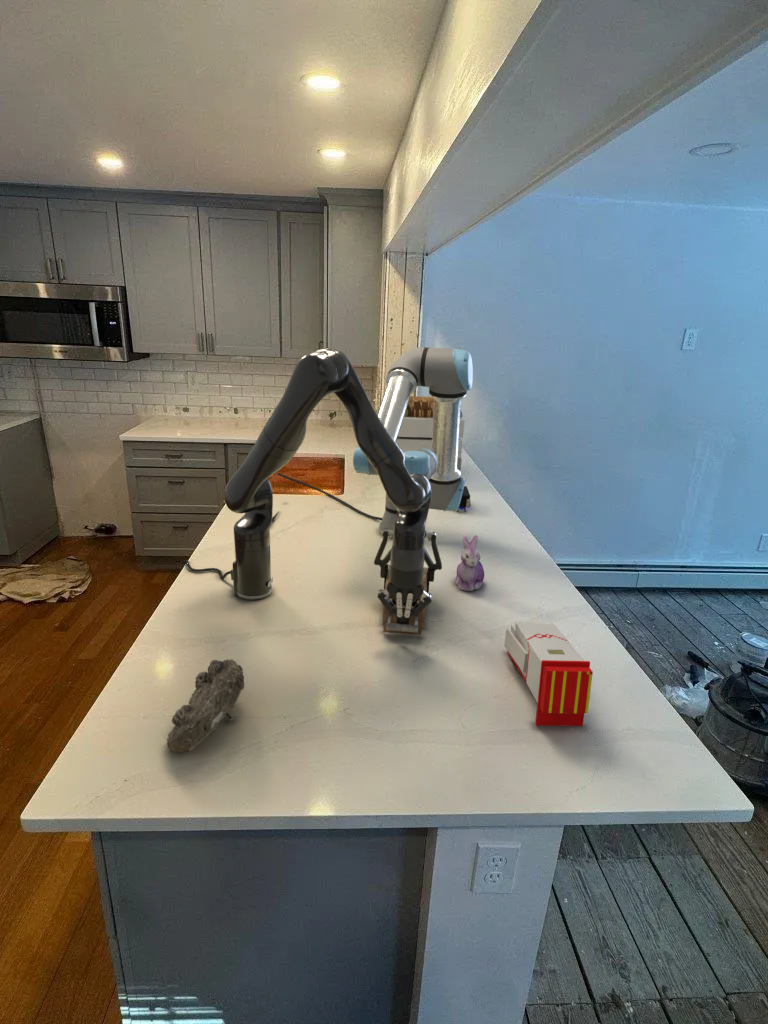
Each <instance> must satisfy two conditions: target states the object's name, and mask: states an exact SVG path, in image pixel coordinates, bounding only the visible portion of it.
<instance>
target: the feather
mask: <svg viewBox="0 0 768 1024" xmlns="http://www.w3.org/2000/svg"><path fill="white" fill-rule="evenodd" d="M278 514H279V512H277V513H276V514H275V515H274V516H272V524H273V523H274V521H275V520H276V518H277V516H278Z"/></svg>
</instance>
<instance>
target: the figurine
mask: <svg viewBox="0 0 768 1024" xmlns="http://www.w3.org/2000/svg"><path fill="white" fill-rule="evenodd" d="M478 541H479V536H478V534H475V535H474V536H473V537H472V539H471V541H470V540H469V539H468V537H467V536H465V535H463V536H462V548H463V550H462V551H461V554H460V560H461V562H460V563H459V564H457V566H456V577H455V584H456V586H457V587H458V589H459V590H461V591H465V592H472V591H475V590H478V589H480V588H481V587H482V586H483V583H484V579H485V570H484V566H483V564H482V563H481V561H480V560H481V555H480V552H479V549H478Z"/></svg>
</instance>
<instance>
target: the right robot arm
mask: <svg viewBox="0 0 768 1024" xmlns="http://www.w3.org/2000/svg"><path fill="white" fill-rule="evenodd" d="M473 368H474V367H473V359H472V355H471V353H470V352H469V351H468V350H465V349H457V348H449V347H447V348H446V347H445V348H444V347H427V346H418V347H414V348H411V349H409V350H407V351H405V352H404V353H403V354H401V355H400V356H399V357H398V358H396V359H395V361H394V362H393V363H392V364H391V366H390V368H389V369H388V372H387V374H386V377H385V384H386V387H385V390H384V392H383V396H382V400H381V401H380V405H379V407H378V410H377V412H376V413H377V415H378V417H379V418H380V420H381V422H382V423H383V425H384V426H385V428H386V429H387V431H388V432H389V433H390V435H391V436H392V438H393V439H394V440H395V442H396V440H397V437H398V434H399V431H400V427H401V424H402V421H403V418H404V415H405V411H406V408H407V405H408V402H409V399H410V396H411V395H412V394H413V393H414V392H415V391H416V390H417V387H426V388H428V395H429V396H430V397H433V399H434V404H433V428H432V451H430V450H428V449H420V450H417V451H408V450H402V452H403V454H404V456H405V463H404V464H405V467H406V469H407V471H408V472H409V474H414V473H418V474H421V475H423V476H425V477H426V478H427V479H428V481H429V483H430V485H431V501H430V506H429V510H436V511H443V512H456V511H457V509H458V508H459V505H460V501H461V497H462V493H463V489H464V486H466V485H465V484H466V479H465V478H464V477H462V473H461V472H462V471H461V472H460V471H459V470H458V469H457V457H458V441H459V426H460V410H461V411H462V401H463V399H465V397H466V396H467V393H468V391H471V390H472V388H473V381H474V380H473V378H474V369H473ZM352 465H353V469H354V471H355V472H356V473H360V474H364V475H368V476H372V475H373V476H379V475H378V473H377V471H376V470H375V469H374V468H373V466H372V465H371V464H370V462H369V461H368V459H367V458H366V457H365V455H364V454H363V452H362V451H361V449H360V447H359V445H358V446H357V447H355V449H354V452H353V456H352ZM277 476H280V477H282V478H285V479H287V480H290V481H292V482H295V483H297V484H300V485H302V486H306V487H308V488H310V489H313V490H315V491H317V492H320V493H322V494H323V495H326V496H328V497H330V498H332V499H334V500H335V501H337V502H339V503H341V504H342V505H345V506H347V507H348V508H350V509H351V510H352V511H354V512H356V513H358V514H360V515H362V516H364V517H366V518H369V519H372V520H377V521H381V522H379V525H378V533H379V534H380V535H381V536H382V540H381V543H380V545H379V547H378V550H377V553H376V555H375V557H374V560H373V565H375V566H379V568H380V573H379V575H380V579H384V580H383V589H385V585H386V579H387V574H388V568H389V565H390V556H391V549H392V547H390V549H389V551H388V552H387V553H386V554H385V556H384V557H383V558H382V556H383V553H384V551H385V548H386V547H387V545H388V540H393V528H394V523H395V521H396V519H397V517H398V515H399V510H398V509H397V508H396V507H395V506H394V505H393V504H392V502H391V501H390V499H389V498H388V496H387V494H386V493H385V504H384V505H385V507H384V508H385V509H384V513H383V515H382V517H380V516H375V515H371V514H369V513H366V512H364V511H363V510H362V511H361V510H360V509H358V508H356V507H354V506H353V505H351V504H349V503H348V502H346V501H344V500H342V499H341V498H339V497H337V496H335V495H333V494H331V493H329V492H327V491H325V490H322V489H320V488H318V487H316V486H313V485H311V484H309V483H306V482H303V481H301V480H299V479H295V478H293V477H290V476H287V475H285V474H282V473H281V472H278V473H277ZM426 538H427V540H428V542H429V543H430V545H431V550H432V554H433V557H434V561H435V563H434V562H433V559H432V558H431V556H430V554H429V552H428V551H427V548H426V547H425V546H424V563H426V565H427V566H426V568H427V591H426V593H430V583H434V581H435V573H436V571H440V570H442V569H443V563H442V558H441V555H440V550H439V548H438V543H437V532H436V531H432V532H427V531H426V530H425V539H426ZM388 563H389V564H388Z"/></svg>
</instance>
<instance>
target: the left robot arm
mask: <svg viewBox="0 0 768 1024" xmlns="http://www.w3.org/2000/svg"><path fill="white" fill-rule="evenodd" d="M331 394H334V395H335V396H336V397H337V398H338V399H339V400H340V402H341V403H342V404H343V406H344V407H345V409H346V411H347V414H348V416H349V419H350V423H351V426H352V429H353V433H354V437H355V440H356V442H357V445H358V446H359V447H360V449H361V451H362V452H363V454H364V455H365V457H366V458H367V459H368V461H369V462H370V464H371V465H372V466H373V468H374V469H375V470H376V471H377V473H378V475H377V476H378V478H379V480H380V482H381V485H382V487H383V489H384V491H385V495H386V494H387V496H388V498H389V499H390V501H391V502H392V504H393V505H394V506H395V507H396V508H397V509H398V510H399V515H398V517H397V519H396V521H395V523H394V528H393V539H392V544H391V548H392V549H391V548H390V549H391V556H390V561H389V565H390V576H389V583H388V584H387V588H385V589H384V588H383V589H382V588H381V589H378V591H377V599H378V600H379V601H380V602H381V604H382V606H383V605H384V606H385V607H386V609H387V610H388V611H389V613H390V614H395V615H396V616H397V624H408V625H409V617H410V616H417V615H418V614H419V613H420V612H421V611H422V610H423V609H424V608H425V609H426V608H427V607H428V606H429V605H430V604H431V603H432V599H433V598H432V593H431V592H429V593H426V592H425V591H424V587H423V585H422V579H423V567H424V564H425V560H424V547H425V539H426V538H425V531H426V524H427V520H428V515H429V511H430V509H429V506H430V501H431V485H430V483H429V481H428V479H427V478H426V477H425V476H423V475H421V474H418V473H414V474H409V472H408V471H407V469H406V467H405V464H404V463H405V456H404V454H403V452H402V450H401V449H400V448H399V446H398V445H397V443H396V442H395V440H394V439H393V438H392V436H391V435H390V433H389V432H388V431H387V429H386V428H385V426H384V425H383V423H382V422H381V420H380V418H379V417H378V415H377V413H378V412H377V411H376V410H375V408H374V406H373V404H372V402H371V400H370V398H369V397H368V395H367V393H366V391H365V389H364V387H363V384H362V383H361V381H360V378H359V377H358V374H357V372H356V370H355V369H354V367H353V365H352V363H351V361H350V360H349V357H348V356H346V354H345V353H344V352H343V351H342V350H341V349H339V348H337V347H332V346H328V347H323V348H320V349H317V350H313V351H310V352H308V353H306V354H305V355H303V356H302V357H301V358H300V359H299V360H298V361H297V364H296V365H295V368H293V371H292V374H291V375H290V378H289V381H288V383H287V386H286V388H285V390H284V393H283V395H282V396H281V398H280V400H279V402H278V403H277V405H276V406H275V408H274V410H273V412H272V413H271V415H270V417H269V418H268V420H267V421H266V423H265V425H264V426H263V428H262V430H261V432H260V433H259V435H258V437H257V439H256V441H255V443H254V445H253V446H252V447H251V449H250V451H249V453H248V454H247V456H246V457H245V459H244V460H243V462H242V463H241V465H240V466H239V467H238V469H236V471H235V472H234V473H233V475H232V476H231V477H230V479H229V480H228V482H227V483H226V485H225V489H224V493H223V494H224V495H223V496H224V502H225V505H226V507H227V508H228V509H229V511H231V512H233V513H235V514H243V515H242V517H241V518H240V519H238V520H237V521H236V522H235V523H234V525H233V539H234V559H235V560H234V561H233V562H232V569H230V570H229V571H226V572H225V573H224V574H223V572H222V570H221V569H219V568H217V567H208V568H193V567H192V566H191V565H190V561H189V560H185V561H184V562H183V564H186V566H187V568H188V570H189V571H191V572H195V573H202V572H203V573H204V572H210V571H211V572H218V574H219V578H221V579H225V578H227V576H228V575H230V580H232V581H233V596H237V597H239V598H240V599H243V600H245V601H246V600H248V601H256V600H257V601H258V600H263V599H265V598H267V597H269V596H270V595H271V594H272V591H273V587H272V586H273V585H272V584H273V582H274V577H273V576H272V563H271V562H272V561H271V560H272V559H271V532H270V531H271V526H272V525H273V523H272V518H273V510H274V509H273V507H274V494H273V486H272V483H271V481H270V480H269V478H270V477H272V476H273V475H275V474H276V473H277V472H278V471H280V470H282V468H284V467H285V466H286V465H287V464H289V462H290V461H291V460H292V459H293V457H294V456H295V455H296V453H297V452H298V451H299V449H300V447H301V446H302V444H303V442H304V440H305V437H306V433H307V423H308V422H307V421H308V420H309V417H310V416H311V414H312V412H313V411H314V409H315V408H316V407H317V406H318V404H319V403H320V402H322V400H323V399H324V398H325V397H327V396H329V395H331ZM187 563H188V564H187ZM388 593H389V594H390V595H391V597H392V598H393V600H394V601H395V602H397V607H395V605H394V604H393V602H392V601H391V600H390V599H389V597H388V596H389V594H388ZM421 595H422V596H421ZM420 596H421V600H420V601H419V602H418V603H417V604H416V605H415V606H414V607H413V608H411V605H412V603H414V602H415V601H416V600H417V599H418V598H419V597H420ZM403 603H405V604H406V606H405V611H404V614H403Z"/></svg>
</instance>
